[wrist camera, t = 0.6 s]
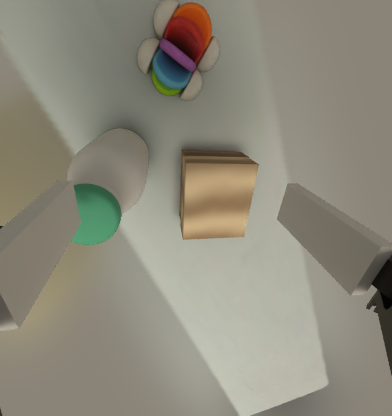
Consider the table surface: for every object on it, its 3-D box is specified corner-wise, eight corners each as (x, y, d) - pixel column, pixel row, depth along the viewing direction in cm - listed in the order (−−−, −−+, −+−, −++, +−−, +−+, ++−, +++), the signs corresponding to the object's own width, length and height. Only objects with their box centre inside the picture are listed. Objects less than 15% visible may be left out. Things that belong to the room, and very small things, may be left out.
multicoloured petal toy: (223, 43, 28) (243, 27, 21) (185, 110, 31) (192, 114, 24) (167, -8, 25) (171, -45, 18) (131, 72, 28) (124, 65, 21)
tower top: (182, 155, 30) (186, 163, 27) (247, 157, 32) (258, 164, 28) (180, 225, 36) (182, 239, 32) (235, 223, 37) (243, 236, 34)
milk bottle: (112, 116, 29) (47, 142, 12) (158, 148, 33) (161, 206, 15) (87, 160, 32) (2, 236, 14) (133, 186, 35) (109, 276, 17)
